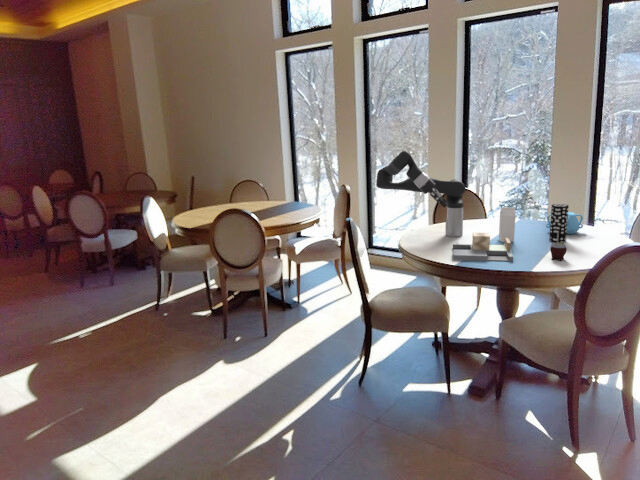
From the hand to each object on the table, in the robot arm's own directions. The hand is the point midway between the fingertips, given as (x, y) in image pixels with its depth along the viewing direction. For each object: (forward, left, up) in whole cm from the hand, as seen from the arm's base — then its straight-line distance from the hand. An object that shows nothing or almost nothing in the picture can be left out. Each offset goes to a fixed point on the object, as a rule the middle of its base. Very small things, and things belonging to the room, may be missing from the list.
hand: (445, 204), depth 260 cm
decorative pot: (+48, +68, -25) cm, 87 cm away
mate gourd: (+54, +8, -25) cm, 60 cm away
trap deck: (+19, +1, -25) cm, 31 cm away
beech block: (+17, +5, -22) cm, 29 cm away
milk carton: (+23, +36, -25) cm, 49 cm away
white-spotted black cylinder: (+48, +46, -25) cm, 71 cm away
